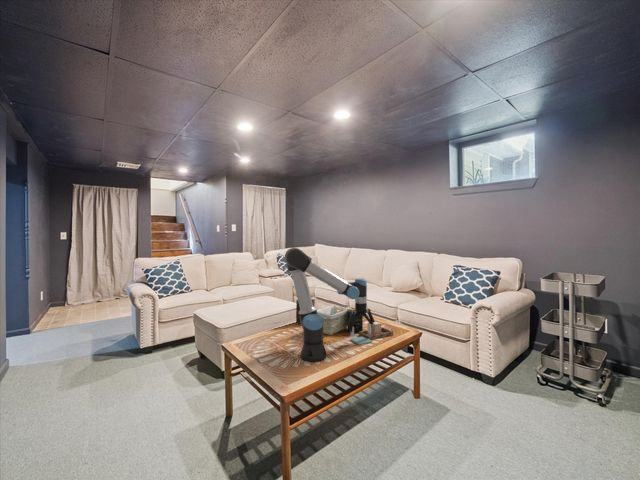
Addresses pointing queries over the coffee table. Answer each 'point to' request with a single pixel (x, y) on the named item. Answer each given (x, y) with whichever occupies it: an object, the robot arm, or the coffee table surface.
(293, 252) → the robot arm
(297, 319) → the wooden container
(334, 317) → the storage basket
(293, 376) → the coffee table surface
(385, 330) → the walnut bin
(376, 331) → the kraft box
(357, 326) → the tampon box
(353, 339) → the teal pad
